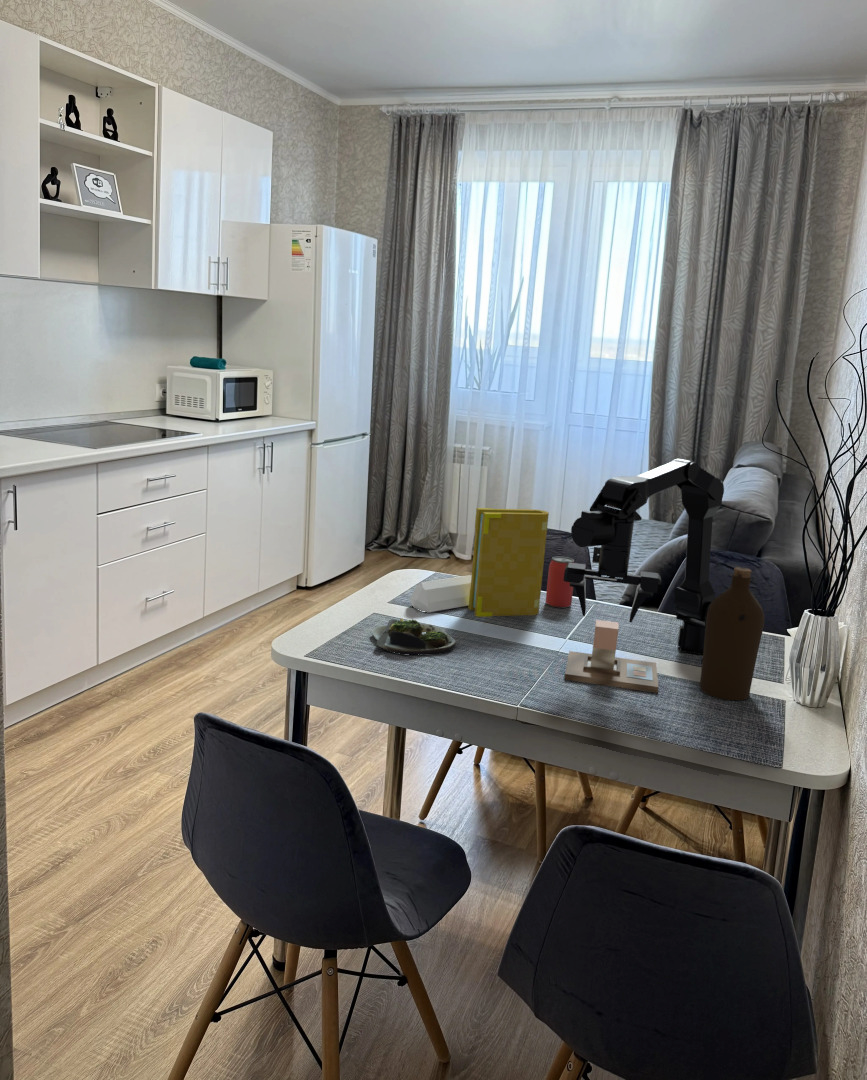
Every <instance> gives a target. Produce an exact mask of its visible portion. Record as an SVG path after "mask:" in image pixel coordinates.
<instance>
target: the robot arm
mask: <svg viewBox="0 0 867 1080" xmlns="http://www.w3.org/2000/svg"><path fill="white" fill-rule="evenodd" d="M724 485H725V484H724V482H722V480H721V479H720V478H718V477H716V476H714V475H713V474H712V473H710V472H708V471H706V470H705V469H704V468H701V466H700V465H699V464H698V463H696V462H695V461H694V460H689V459H685V458H684V459H683V458H675V459H674V458H673V459H672V460H671V461H670V462H668V463H666V464H663V465H659V466H658V467H655V468H653V469H651V470H649V471H648V470H647V471H646V472H642V473H640V474H638V475H635V476H630V475H629V476H627V475H626V476H625V475H624V476H615V477H610V478H609V479H607V480H606V481H605V482H604V485H603V486H602V489H601V490H600V491H599V493H598V494H597V496H596V498H595V499H594V501H593V502H592V505H591V506H590V507H589V510H582V511H581V513H580V517H578V518H576V519H575V520H574V522H573V524H572V526H571V529H570V534H571V537H572V541H573V542H574V544H575V545H576V546H577V547H579V548H589V547H590V548H591V547H593V553H592V564H593V563H594V564H598V567H597V570H595V569H589V568H588V569H586V565H587V564H585V563H576V562H574V563H568V564H567V565H566V567H565V572H564V580H563V581H565V582H570V586H571V587H573V588H574V591H575V592H576V595H577V597H578V601H579V606H580V609H581V614H582V617H586V610H587V603H586V602H587V600H586V599H587V597H586V596H587V594H586V588H587V587H586V586H587V585H586V583H587V581H586V580H595V581H603V582H610V583H618V584H626V585H632V586H633V585H634V586H636V590H635V594H634V598H633V601H632V606H631V609H630V614H629V621H628V622H629V623H632V622H633V620H634V619H635V617H636V614H637V613H638V611H639V609H640V608H641V606H642V605H643V603H644V601H645V600H646V599H647V597H653V595H654V594H661V588H662V587H661V586H662V577H661V575H660V573H658V572H651V571H642V570H641V571H640V573H639V574H640V575H635V574H629V563H630V557H631V548H632V539H633V531H634V524H635V522H639V521H641V520H642V516H641V515H640V514H639V513H638V512H637V510H639V509H640V508H642V507H644V506H645V505H646V504H647V502H648V499H649V498H650V497H652V496H654V495H656V494H659V493H661V492H663V491H665V490H668V489H670V488H673V487H676V488H677V489H679V491H680V494H681V504H682V506H683V508H684V510H685V512H686V514H687V517H688V520H687V521H688V522H687V536H686V537H687V538H686V552H685V553H686V554H685V572H684V580H683V581H682V582H681V584H680V585H679V586H678V587H675V589H674V592H673V593H674V600H673V603H672V605H674V610H675V617H676V620H678V621H679V620H680V621H682V625H680V626H679V629H678V634H677V641H676V642H677V646H678V647H679V651H680V652H683V653H689V654H691V653H692V654H695V655H696V654H697V655H703V651H704V640H705V629H706V617H707V611H708V609H709V606H710V604H711V603H712V601H713V600H714V599H715V598H716V591H715V590H714V588H713V586H712V584H711V582H710V579H709V578H710V564H711V562H710V561H711V548H712V535H713V534H712V533H713V520H714V518H713V517H714V516H715V514H716V513H717V512H718V511H719V509H720V508H721V506H722V503H723V498H724V493H725V487H724ZM599 546H600V547H599Z"/></svg>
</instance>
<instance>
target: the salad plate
mask: <svg viewBox="0 0 867 1080" xmlns="http://www.w3.org/2000/svg"><path fill="white" fill-rule="evenodd" d="M422 632H426V634H422ZM371 633H372V636H373V638H375V640H376V646H377V647H379V648H382V649H383V650H384V651H386V650H388V651H391V652H395V653H400V654H409V655H408V656H421V655H420V654H435V655H440V654H439V653H442V654H446V653H449V652H450V651H451V650H453V649H454V648H455V646H456V639H455V638H453V637H452V636H451V635H449V634H448V633H447V632H446V631H445V630H443V628H441V627H439V626H437V625H435V624H433V625H432V624H428V623H427V624H426V623H420V622H419V621H417V620H416V619H414V618H412V619H409V620H404V618H400V619H399V620H397V619H392V618H391V619H389V621H388V623H387V625H381V626H378V627H376V628H375V627H374V629H372V631H371ZM388 651H387V652H388ZM391 652H390V653H391ZM445 652H446V653H445ZM418 654H419V655H418Z"/></svg>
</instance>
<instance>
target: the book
mask: <svg viewBox="0 0 867 1080" xmlns="http://www.w3.org/2000/svg"><path fill="white" fill-rule="evenodd" d="M475 510H476V513H475V523H474V524H475V526H474V528H475V533H474V542H473V543H474V544H473V545H474V546H473V554H472V555H473V556H472V566H471V567H472V569H471V575H472V577H471V589H470V595H469V605H468V606H467V608H468V610H469V611H470V612H471V611H474V613H473V614H474V616H476V617H477V618H480V617H484V618H485V617H486V618H487V617H489V618H490V617H495V616H496V617H500V616H501V617H502V616H503V617H504V616H510V617H511V616H513V617H514V616H534V615H536V616H537V615H538V614H540V613H539V612H540V602H541V592H542V584H543V574H544V564H545V563H544V562H545V554H546V553H545V552H546V544H547V543H546V542H547V536H548V534H547V533H548V523H549V513H550V512H549V511H547V510H541V509H533V508H532V509H531V508H530V509H528V508H526V509H525V508H524V509H523V508H517V509H516V508H491V507H476V509H475Z"/></svg>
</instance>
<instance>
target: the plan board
mask: <svg viewBox="0 0 867 1080" xmlns="http://www.w3.org/2000/svg"><path fill="white" fill-rule="evenodd" d="M591 659H592V653H589V652H581V651H580V652H579V651H573V650H569V651H568V656H567V661H566V666H565V672H564V679H563V680H565V681H573V682H579V683H585V684H594V685H599V686H608V687H613V686H614V687H613V688H620V687H621V689H628V690H633V691H634V690H636V691H642V692H651V693H657V694H658V693H659V679H658V667H657V662H653V661H646V660H638V659H633V658H632V659H630V658H623V657H616V656H615V661H614V669H613V670H612V669H605V668H598V667H591Z"/></svg>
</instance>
